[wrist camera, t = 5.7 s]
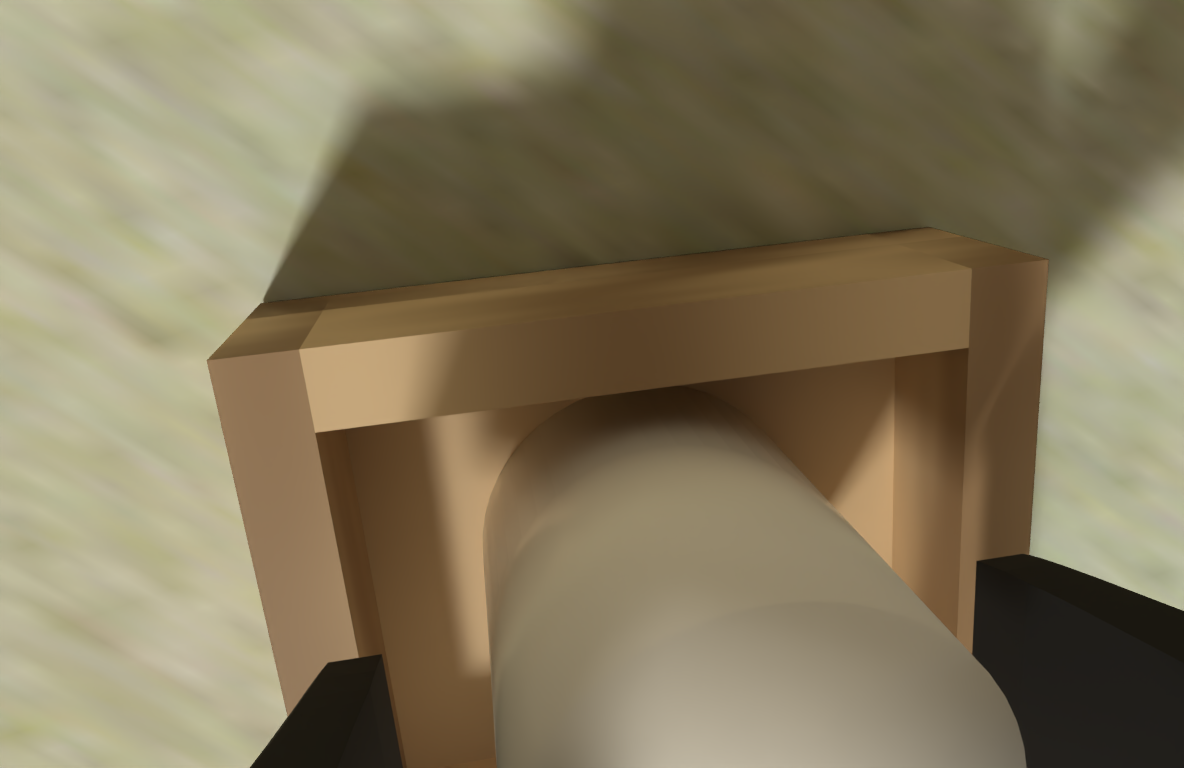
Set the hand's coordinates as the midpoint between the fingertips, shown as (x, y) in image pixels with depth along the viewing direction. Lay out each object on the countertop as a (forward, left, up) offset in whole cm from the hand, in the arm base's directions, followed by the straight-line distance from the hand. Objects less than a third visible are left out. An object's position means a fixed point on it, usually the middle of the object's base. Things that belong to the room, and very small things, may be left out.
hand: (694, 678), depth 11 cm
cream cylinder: (0, 0, -3) cm, 3 cm away
